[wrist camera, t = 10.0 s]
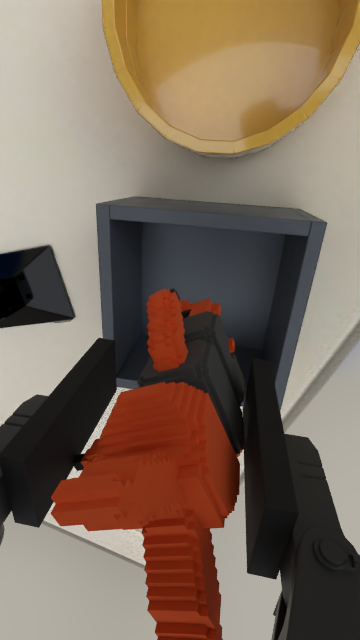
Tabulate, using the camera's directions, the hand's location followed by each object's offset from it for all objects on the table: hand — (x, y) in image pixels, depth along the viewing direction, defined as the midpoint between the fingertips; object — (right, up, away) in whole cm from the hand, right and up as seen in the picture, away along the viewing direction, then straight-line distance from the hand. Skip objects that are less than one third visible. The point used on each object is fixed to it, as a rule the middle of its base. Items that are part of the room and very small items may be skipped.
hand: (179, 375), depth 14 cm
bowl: (+3, +20, +6) cm, 21 cm away
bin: (+2, +6, +12) cm, 14 cm away
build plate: (-17, +5, +16) cm, 24 cm away
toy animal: (0, +2, +4) cm, 4 cm away
